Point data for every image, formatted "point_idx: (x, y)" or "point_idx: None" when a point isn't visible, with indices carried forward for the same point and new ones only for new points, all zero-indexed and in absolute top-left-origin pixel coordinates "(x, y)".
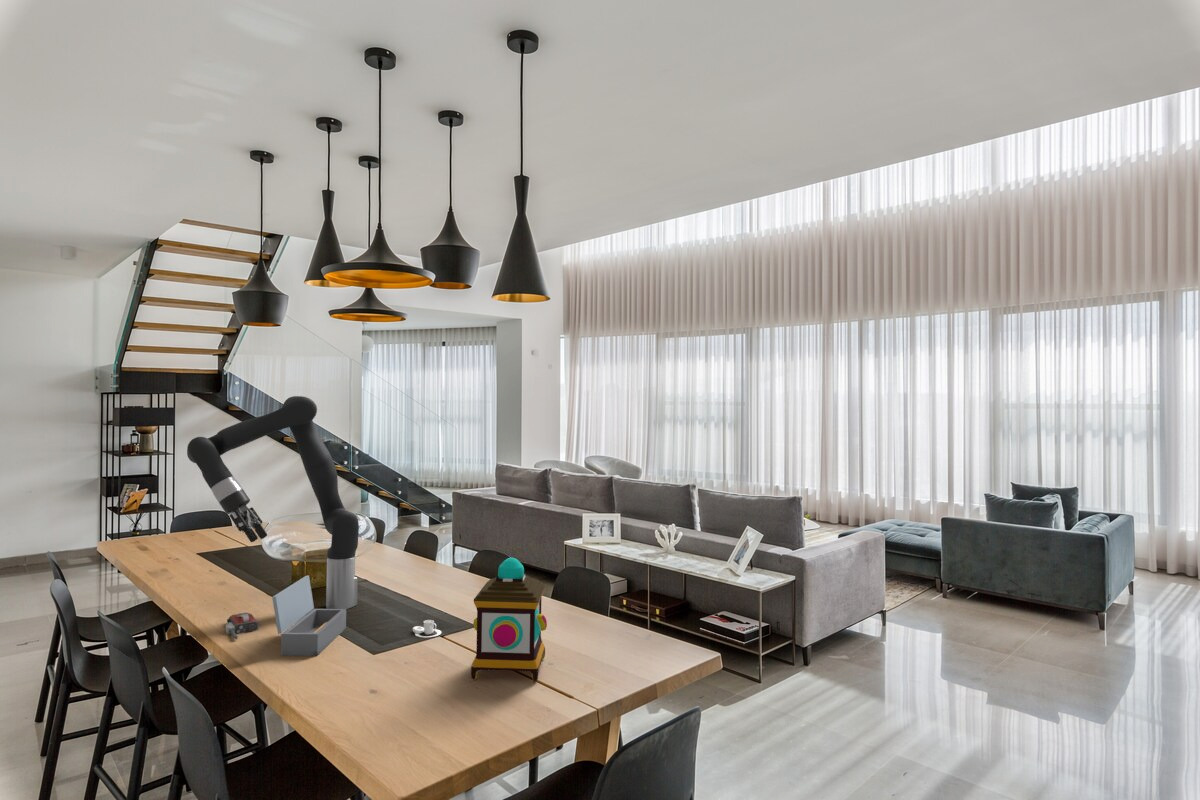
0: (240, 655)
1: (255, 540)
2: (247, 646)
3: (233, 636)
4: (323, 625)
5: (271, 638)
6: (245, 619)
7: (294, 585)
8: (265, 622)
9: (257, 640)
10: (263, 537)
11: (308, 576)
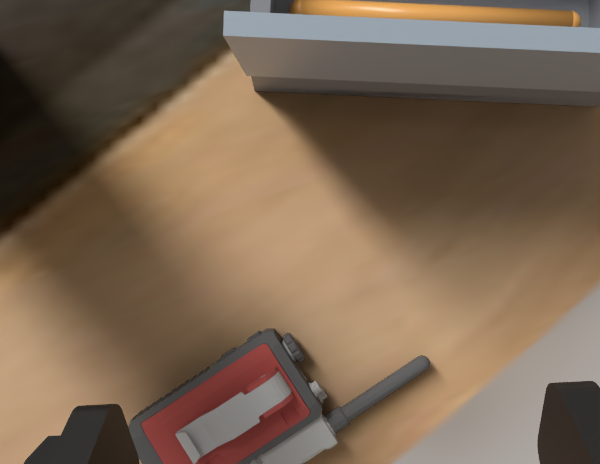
0: (593, 265)
1: (544, 412)
2: (489, 281)
3: (416, 376)
4: (349, 4)
5: (390, 221)
6: (284, 387)
7: (492, 24)
8: (165, 334)
9: (415, 270)
10: (127, 444)
11: (235, 12)
